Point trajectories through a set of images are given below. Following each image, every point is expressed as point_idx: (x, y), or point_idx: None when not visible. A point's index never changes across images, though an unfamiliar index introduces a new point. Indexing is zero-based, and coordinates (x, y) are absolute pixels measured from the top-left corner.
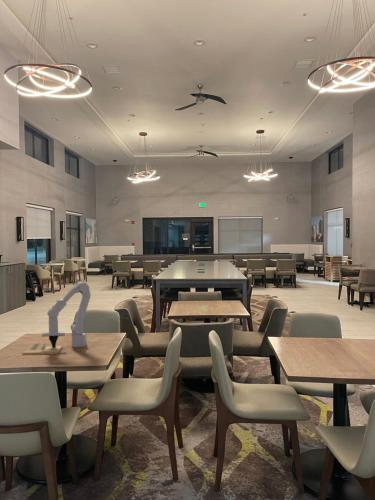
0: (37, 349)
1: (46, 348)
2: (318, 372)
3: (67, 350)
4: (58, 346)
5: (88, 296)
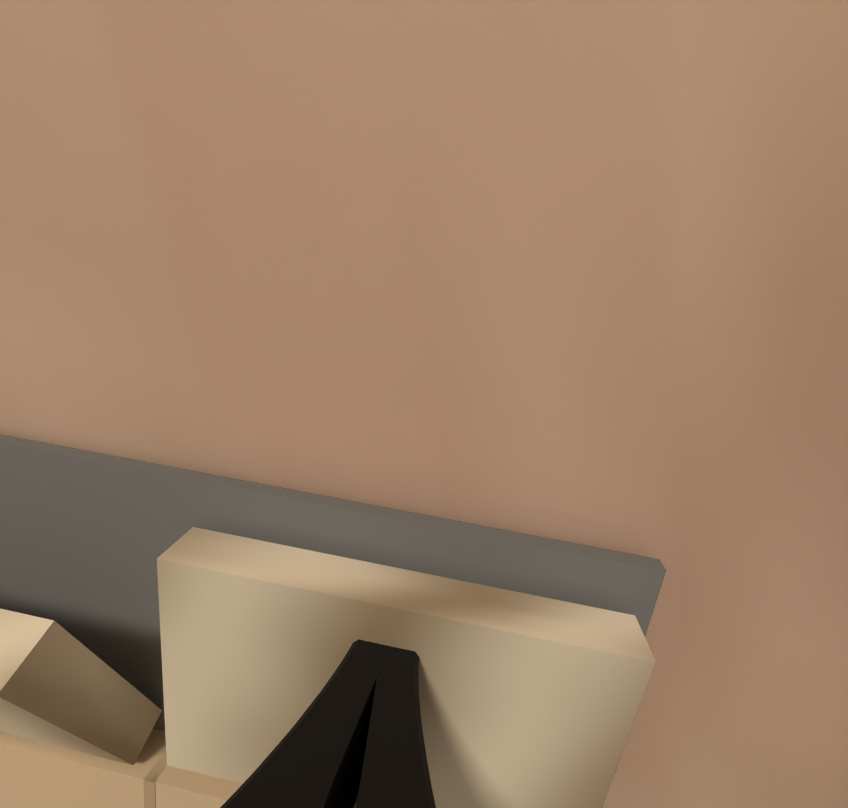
0: (1, 730)
1: (197, 723)
2: None
3: (757, 736)
4: (518, 668)
5: None
